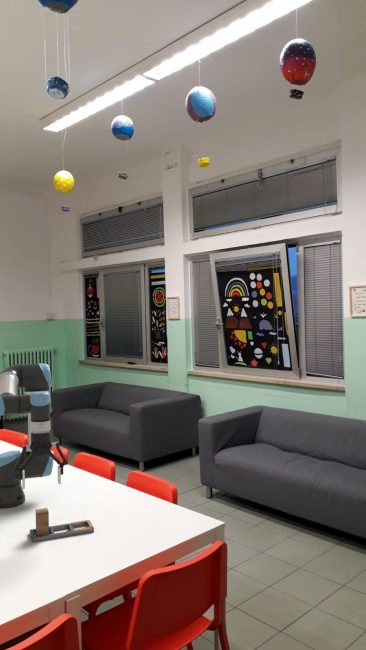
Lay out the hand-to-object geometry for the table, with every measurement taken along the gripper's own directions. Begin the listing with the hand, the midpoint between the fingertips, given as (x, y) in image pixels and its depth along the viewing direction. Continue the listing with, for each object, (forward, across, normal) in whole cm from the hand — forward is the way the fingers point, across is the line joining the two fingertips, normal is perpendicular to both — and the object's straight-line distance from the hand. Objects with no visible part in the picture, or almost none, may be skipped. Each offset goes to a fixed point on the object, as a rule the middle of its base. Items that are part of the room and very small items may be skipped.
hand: (41, 485), depth 199 cm
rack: (+20, +8, 0) cm, 21 cm away
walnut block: (+20, 0, 0) cm, 20 cm away
